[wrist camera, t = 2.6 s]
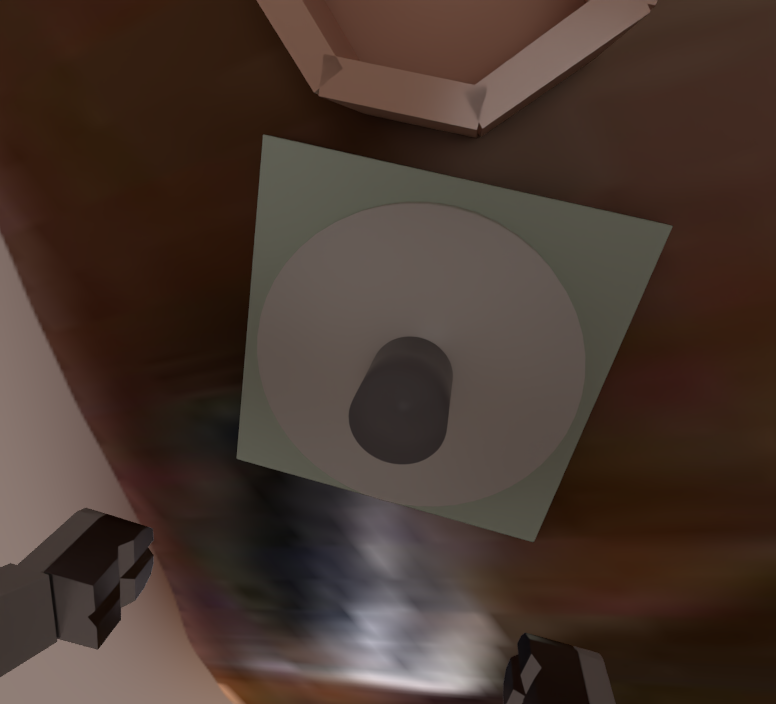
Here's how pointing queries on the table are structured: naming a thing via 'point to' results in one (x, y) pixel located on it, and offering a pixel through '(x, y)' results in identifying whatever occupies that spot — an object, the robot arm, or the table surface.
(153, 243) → the table surface
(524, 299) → the lid
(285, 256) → the mat
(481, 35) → the bowl
